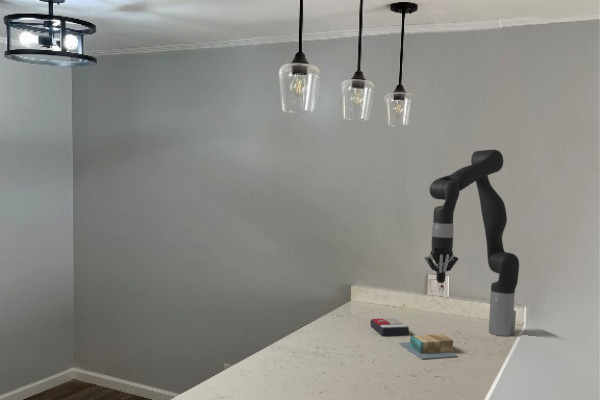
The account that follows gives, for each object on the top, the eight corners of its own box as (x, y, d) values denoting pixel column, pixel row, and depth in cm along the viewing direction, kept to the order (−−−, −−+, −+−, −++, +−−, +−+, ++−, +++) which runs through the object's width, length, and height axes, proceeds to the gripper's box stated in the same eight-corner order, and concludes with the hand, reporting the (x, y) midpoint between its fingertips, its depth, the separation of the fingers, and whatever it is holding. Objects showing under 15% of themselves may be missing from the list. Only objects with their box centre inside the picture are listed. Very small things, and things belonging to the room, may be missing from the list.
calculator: (395, 317, 250) (409, 325, 235) (395, 327, 250) (408, 336, 235) (370, 318, 248) (382, 326, 233) (370, 328, 248) (382, 337, 233)
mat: (432, 341, 229) (432, 340, 228) (457, 356, 211) (457, 355, 211) (398, 343, 224) (398, 342, 224) (422, 359, 207) (422, 358, 207)
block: (441, 334, 224) (410, 335, 220) (453, 340, 216) (420, 342, 212) (441, 344, 224) (410, 346, 220) (452, 351, 216) (420, 353, 213)
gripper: (453, 233, 222) (451, 279, 223) (421, 234, 218) (419, 281, 219) (464, 236, 215) (462, 284, 216) (431, 236, 211) (429, 285, 212)
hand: (440, 282), depth 217 cm, fingers closed
